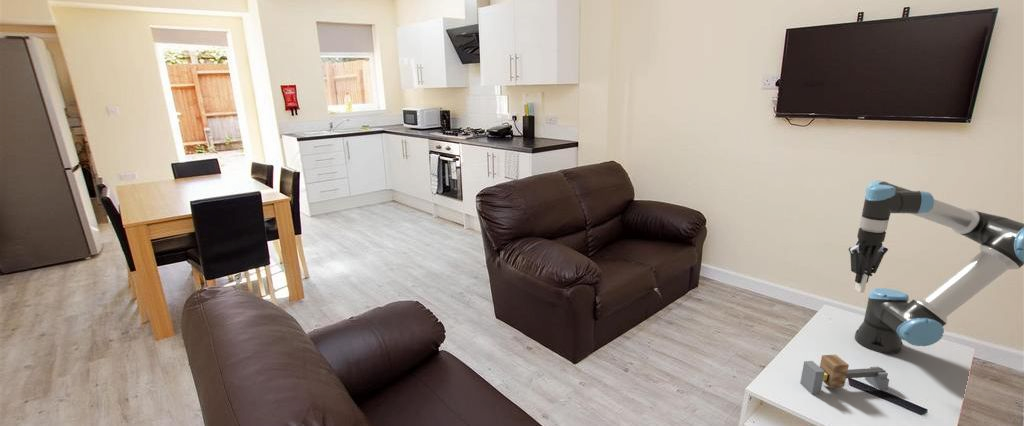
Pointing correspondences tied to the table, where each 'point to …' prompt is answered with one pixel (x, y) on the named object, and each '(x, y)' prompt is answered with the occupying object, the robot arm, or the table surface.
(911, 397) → the table surface
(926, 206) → the robot arm
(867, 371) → the rod rig
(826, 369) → the wooden block on rod
